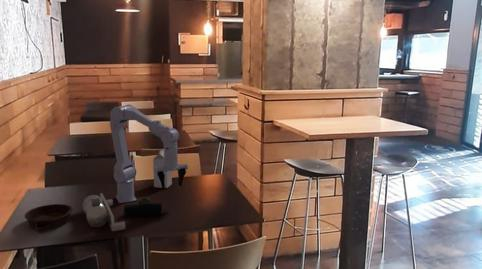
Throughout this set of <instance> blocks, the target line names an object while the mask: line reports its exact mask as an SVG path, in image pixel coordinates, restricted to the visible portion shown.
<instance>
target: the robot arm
mask: <svg viewBox="0 0 482 269" xmlns="http://www.w3.org/2000/svg"><path fill="white" fill-rule="evenodd" d="M109 114H110V121H109V127H110V132H111V138H112V141H113V142H112V143H113V144H112V145H113V148H114V153H115V159H116V162H115V165H114V167H113V179H114V181H115V182H116V184H117V185H116V187H117V195H115V198H116V200H117V202H118V204H124V203H129V202H135V201H136V202H137V200H138V199H137V198H136V196H135V187H134V186H135V184H134V183H135V181H134V180H135V177H136V176H137V169H136V167H135V166H134V162H133V161H132V160H130V158H129V156H130V155H129V151H128V147H127V141H126V134H125V131H124V130H125V129H124V126H125V125H126V123H127V122H128V121H130V120H134V121H136V122H138V123H140V124H142V125H143V126H146V127H147V128H148V131H149V132H150V133H151V134H154V135H155V136H156V137H158V138H159V139H160V140H161V142H162V145H163V149H164V165H165V166H162V167H158V168H154V169H153V173H154V172H155V173H157V175H158V177H159V179H160V182H161V185H162V188H161V189H166V188H165V183H164V179H165V175H164V173H163V172H167V171H172V172H173V171H177V176H178V177H177V178H178V180H177V181H178V182H177V183H178V185H179V187H182V185H183V180H184V179H185V178H184V177H185V175H186V174H187V170H188V169H189V166H188V164H187V163H185V164H184V163H183V164H182V163H181V164H179V161H178V159H179V158H178V140H180V133H179V131H178V130H177V129H176V128H175V127H172V128H171V127H170V126H168V125H166V124H164V123H163V122H162V121H161V120H160V119H158V120H157V119H154V120H152V119H151V118H149V117H148V116H147V115H145V114H144V113H142V112H141V111H139V110H138V108H137V107H136V106H133V105H132V104H125V105H121V106H115V107H113V108H112V109H111V111H110V112H109Z"/></svg>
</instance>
